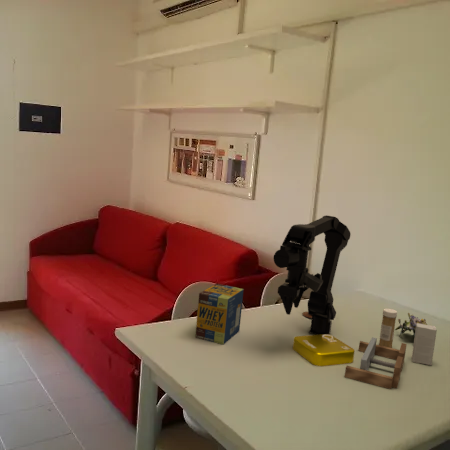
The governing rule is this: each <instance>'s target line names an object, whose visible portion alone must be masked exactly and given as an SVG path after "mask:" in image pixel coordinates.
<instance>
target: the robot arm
mask: <svg viewBox="0 0 450 450" xmlns="http://www.w3.org/2000/svg"><path fill="white" fill-rule="evenodd" d="M339 219H340V218H338V217H336V216H334V215H333V216H331V215H328V214H327V215H322V217H321V218H318V219H316V220H314V221H312V222H309V223H307V224H305V223H304V224H303V223H302V224H301V223H300V224H299V223H298V224H293V225H292V226H291V227H290V229H289V230H288V232H287V234H286V236H285V237H284V240H283V241H282V244H281V245H280V248H279V249H278V250H276V251H275V252H274V254H273V262H274V264H275V266H276V267H278V268H279V269H285V268H286V271H287V277H286V278H285V279H284V280H285V281H284V283H282V284H281V285H279V286H278V287H277V294H278V296H279V297H280V299H281V302H282V306H283V308H284V311H285V313H286V315H288V316H290V315H291V314H292V313H291V312H292V309H293V306H294V308H297V309H298V308H299V306H300V303H301V300H302V297H303V295H304V292H306V291H307V290H308V289H310V290H311V292H310V293H309V297H308V300H307V312H308V314H311V315H312V318H311V321H310V329H309V330H308V333H309V334H312V335H320V334H330V333H331V332H332V324H333V322H332V321H334V319H335V318H336V316H337V315H336V314H337V311H336V309H335V307H334V297H333V294H332V288H333V283H334V280H335V276H336V271H337V267H338V262H339V258H340V255H341V252H342V251H343V250H344V249H345V248H346V247H347V246H348V243H349V240H350V238H351V236H352V235H351V231H350V229H349V228H348V226H347V225H346V224H344V223H343V222H341V221H340V220H339ZM321 234H324V243H325V247H326V251H325V256H324V259H323V260H324V261H323V264H322V268H321V270H320V271H321V272H319V273H318V272H317V273H316V274H313V273H312V274H311V273H310V272H309V268H308V265H307V264H308V256H309V255H308V254H309V251H312V247H311V246H310V245H312V243H314V242H315V241H316V237H317V236H319V235H321Z"/></svg>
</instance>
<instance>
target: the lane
mask: <svg viewBox="0 0 450 450" xmlns="http://www.w3.org/2000/svg"><path fill="white" fill-rule="evenodd" d="M358 345H359V346H358V352H362V353H365V351H366V349H367V347H368V345H369V342H367V341H362V340H360V341H359V343H358ZM406 349H407V343H402V342H401V343H400V348H399V349H397V348H393V347H392V348H389V347H384V346H380V345H379V344H376V348H375V354H374V356H378V357H383V358H387V359H392V360H395V363H394V364H395V367H394V368H393V373H392V376H390V375H387V374H382V373H378V372H375V371H370V370H363V369H360V367H354V366H350V365H346V367H345V371H344V378H346V379H350V380H354V381H360V382H362V383H367V384H370V385H373V386H378V387H381V388H386V389H389V390H392V388H394V389H398V386H399V383H400V379H401V374H402V371H403V367H404V364H405V358H406V351H407V350H406Z"/></svg>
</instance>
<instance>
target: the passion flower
mask: <svg viewBox="0 0 450 450" xmlns="http://www.w3.org/2000/svg"><path fill="white" fill-rule="evenodd" d="M407 316H408V319H409V320H406V319H405V320H404V322H403V323H402V324H401V318H398V319H397V322H398V324H399V326H397V327H396V328H394V331H398V330H400V329H401V330H400V332H399V336H398V337H400V336H401V335H403V334H405V333H406V332H407V331H409V332H413V334H412V335H413V337H414V338H415V331H416V324H417V323H419V324H425V325H428V324H427V321H426V319H425V318H424V319H423V318H421V319H420V318H419V317H416V316H415V315H414V314H410V312H408V313H407Z"/></svg>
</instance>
